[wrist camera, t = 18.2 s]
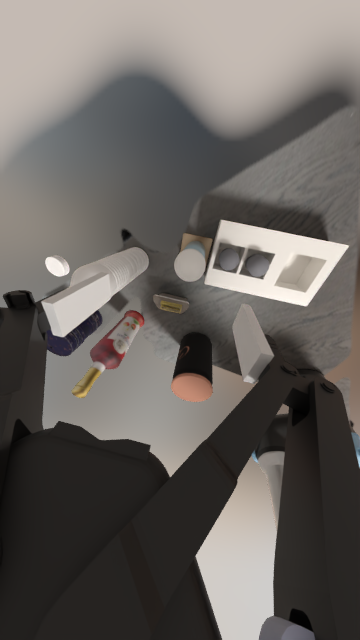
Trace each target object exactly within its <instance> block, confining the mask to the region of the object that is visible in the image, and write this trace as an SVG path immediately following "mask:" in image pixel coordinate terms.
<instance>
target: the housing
mask: <svg viewBox="0 0 360 640" xmlns="http://www.w3.org/2000/svg"><path fill="white" fill-rule="evenodd" d="M348 247H349V246H348V245H343V244H338V243H333V242H329V241H324V240H319V239H314V238H309V237H304V236H299V235H294V234H289V233H284V232H280V231H275V230H270V229H265V228H260V227H255V226H250V225H245V224H240V223H235V222H230V221H226V220H220V221H219V225H218V229H217V233H216V236H215V240H214V244H213V248H212V252H211V256H210V259H209V263H208V267H207V271H206V275H205V283H204V284H207V285H212V286H216V287H221V288H225V289H230V290H234V291H239V292H243V293H248V294H252V295H257V296H261V297H266V298H271V299H275V300H280V301H284V302H289V303H293V304H298V305H302V306H307V305H308V304H309V302H310V301H311V299H312V298H313V297H314V295H315V294H316V292H317V291H318V289H319V288H320V287H321V285H322V284H323V282H324V281H325V280H326V278H327V277H328V275H329V274H330V272H331V271H332V270H333V268H334V267H335V265H336V264H337V262H338V261H339V260H340V258H341V257H342V255H343V254H344V252H345V251H346V250H347V248H348ZM226 248H232V249H234V250H235V251H236V253H237V254H238V256H239V263H238V265H237V266H236V268H234V269H232V270H224V269H223V268H222V267H221V266H220V262H219V255H220V253H221V251H222V250H224V249H226ZM253 254H260V255H262V256H263V257H265V258H266V259H267V260H268V261H269V269H268V271H267V272H266V273H265V274H264V275H262V276H259V277H255V276H252V275H251V274H250V273H249V271H248V270H247V268H246V261H247V259H248V258H249V257H250V256H251V255H253Z"/></svg>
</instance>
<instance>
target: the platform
mask: <svg viewBox="0 0 360 640" xmlns="http://www.w3.org/2000/svg"><path fill="white" fill-rule="evenodd" d="M186 300H187V298H183V297H178V296H174V295H169V294H165V293H160V295H154V296H153V301H154V302H155V304H156V305H157V307H158V308H159V309H161V310H166V311H170V312H174V313H178V314H183V313H184V312H185V311H186V310H187V309H188V307H189V302H186ZM170 304H171V305H170ZM174 304H175V305H176V306H175V305H174ZM163 305H164V306H163ZM165 305H167V306H165ZM168 305H169V306H170V307H169V306H168ZM173 305H174V307H176V308H177V307H178V306H179V305H180V306H181V309H178V308H180V306H179V307H178V308H177V309H175V308H174V307H173ZM171 306H172V307H173V308H172V307H171Z"/></svg>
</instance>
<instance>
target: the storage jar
mask: <svg viewBox="0 0 360 640" xmlns="http://www.w3.org/2000/svg"><path fill="white" fill-rule="evenodd" d="M101 324H102V316H101V314H100V312H99V311H98V310H97V311H95V312H94V313H93V314H92V315H90V316H89V317H88V318H87V319H85V320H84V321H83V322H82V323H80V324H79V325H78V326H77V327H75V328H74V329H73V330H72V331H70V332H69V333H68V334H67V335H66V336H64V337H59V336H55V335H53V333H52V331H51V329H49V330H48V331H46V332H47V335H48V339H47V350H49V351H50V352H52V353H54V354H56V355H59V356H68V355H70V354H71V353H72V352H73V351H74V350H75V349H77V348H78V347H79V346H80V345H81V344H82V343H83V342H84V340H85V339H86V338H87V337H88V336H89V335H91V334H92V333H93V332H94V331H95V330H96V329H97V328H98V327H99V326H100V325H101Z"/></svg>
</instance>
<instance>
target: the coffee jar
mask: <svg viewBox="0 0 360 640" xmlns="http://www.w3.org/2000/svg"><path fill="white" fill-rule="evenodd" d="M171 388H172V391H173V392H174V394H175V395H177V396H178V397H180V398H181V399H183V400H187V401H192V402H198V401H204V400H207V399H208V398H209V397H210V396H211V395H212V393H213V391H212V344H211V341H210V340H209V339H208V338H207V337H206V336H205V335H203V334H200V333H191V334H188V335H186V336H185V337H184V338H183V339H182V341H181V345H180V349H179V353H178V358H177V362H176V366H175V370H174V375H173V381H172V384H171Z"/></svg>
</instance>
